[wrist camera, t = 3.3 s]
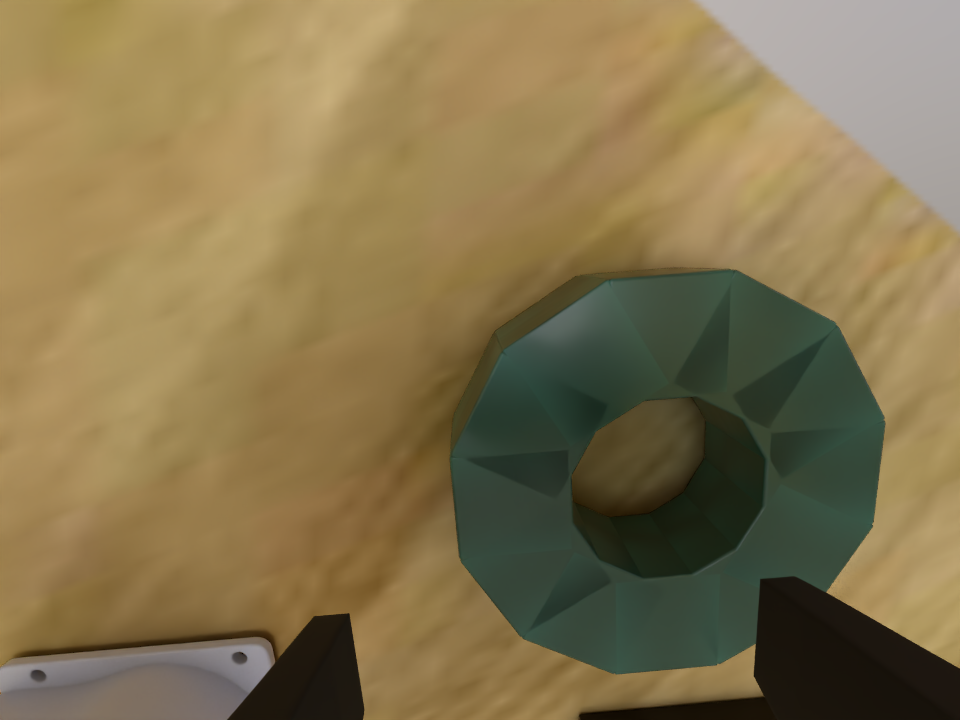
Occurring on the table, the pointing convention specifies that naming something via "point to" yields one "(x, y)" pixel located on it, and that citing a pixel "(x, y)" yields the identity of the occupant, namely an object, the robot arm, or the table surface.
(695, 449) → the table surface
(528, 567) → the ring
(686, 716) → the peg stand
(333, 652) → the robot arm
